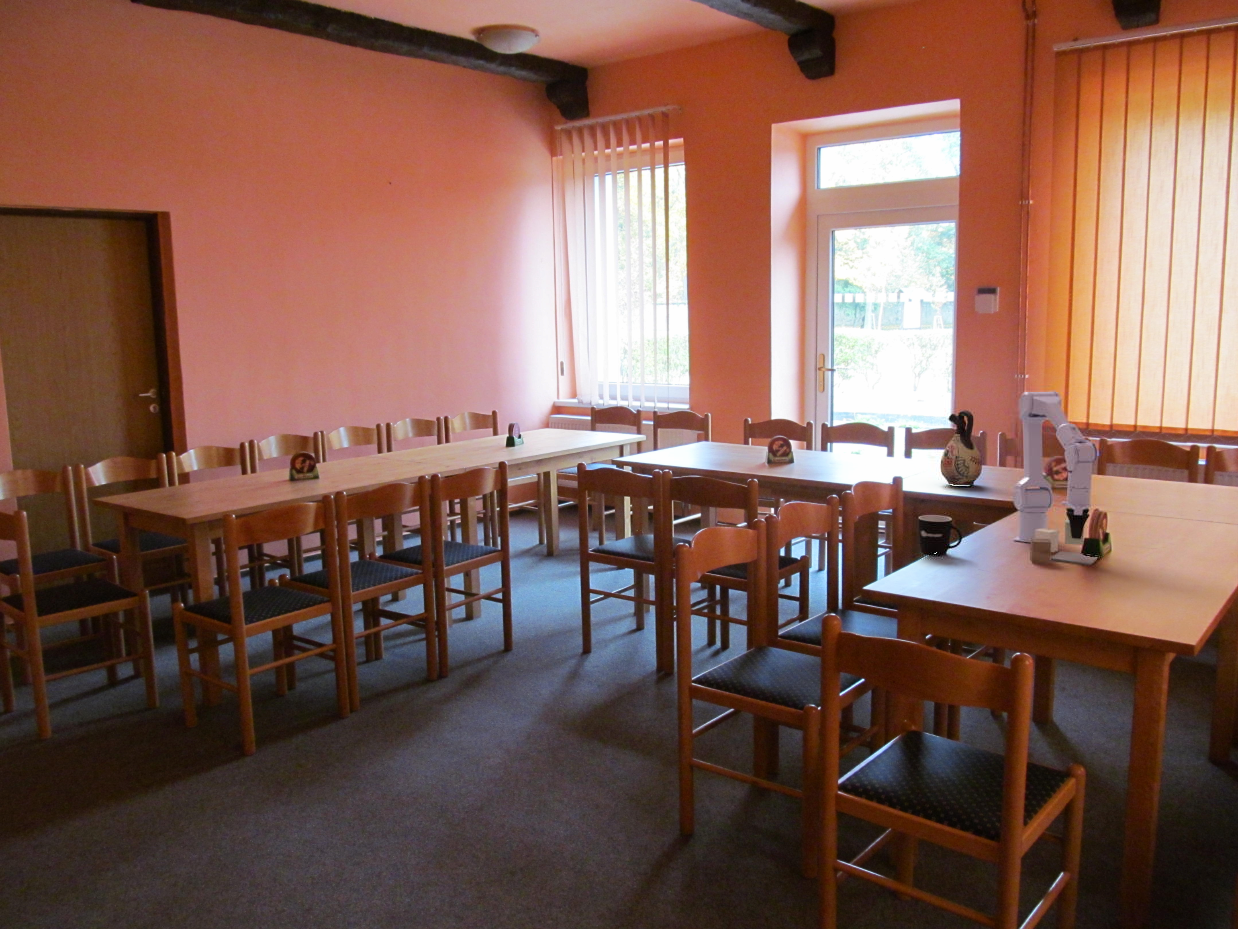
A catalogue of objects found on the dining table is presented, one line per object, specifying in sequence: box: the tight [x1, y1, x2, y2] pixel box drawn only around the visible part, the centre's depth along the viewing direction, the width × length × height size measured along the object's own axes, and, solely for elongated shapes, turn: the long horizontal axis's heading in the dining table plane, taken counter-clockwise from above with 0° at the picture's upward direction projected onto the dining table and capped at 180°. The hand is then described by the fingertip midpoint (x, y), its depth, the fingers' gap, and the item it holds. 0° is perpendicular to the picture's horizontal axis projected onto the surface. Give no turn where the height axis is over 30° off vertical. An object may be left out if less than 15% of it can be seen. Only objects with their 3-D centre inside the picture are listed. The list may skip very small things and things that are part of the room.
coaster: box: [1050, 550, 1098, 566], centre depth 268 cm, size 10×10×1 cm
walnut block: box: [1029, 538, 1051, 565], centre depth 265 cm, size 4×4×6 cm
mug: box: [917, 514, 963, 557], centre depth 275 cm, size 12×9×10 cm
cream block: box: [1035, 527, 1060, 554], centre depth 278 cm, size 4×4×6 cm
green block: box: [1064, 518, 1085, 546], centre depth 267 cm, size 4×4×6 cm
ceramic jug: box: [939, 409, 983, 486], centre depth 382 cm, size 17×15×30 cm
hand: (1076, 536), depth 267 cm, fingers closed on green block, 4 cm apart
